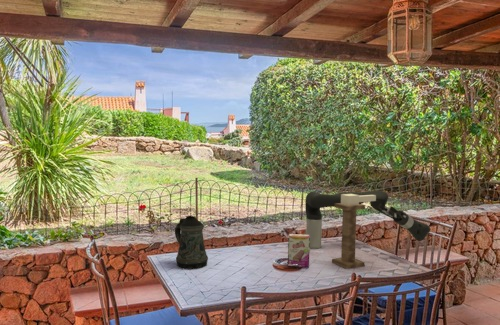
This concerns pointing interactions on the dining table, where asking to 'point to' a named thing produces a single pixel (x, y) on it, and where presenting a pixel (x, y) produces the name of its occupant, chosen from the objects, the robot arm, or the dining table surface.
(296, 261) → the candy bar box
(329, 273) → the dining table surface
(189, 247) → the beer stein
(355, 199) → the handle block
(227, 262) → the dining table surface
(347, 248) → the stand
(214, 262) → the dining table surface
